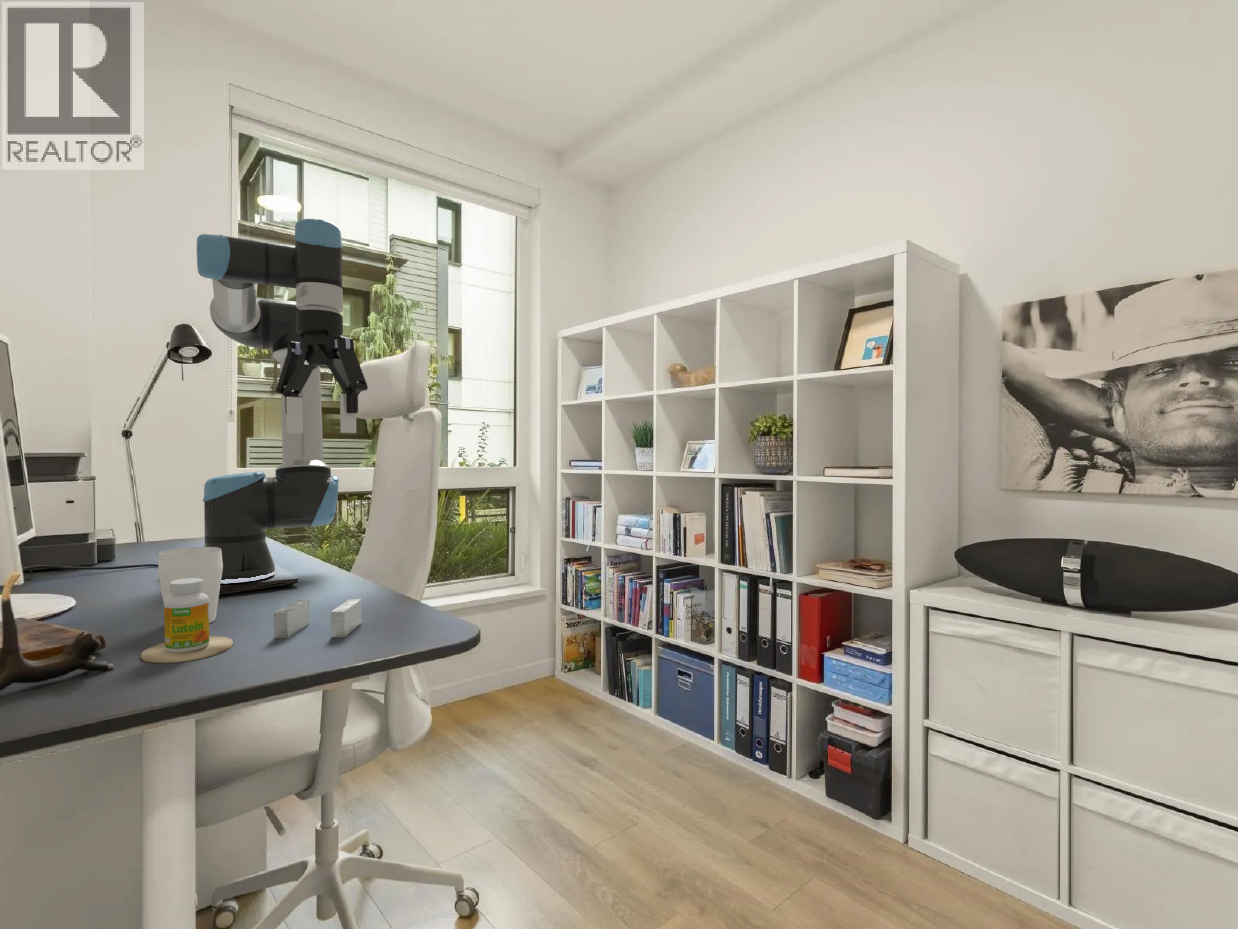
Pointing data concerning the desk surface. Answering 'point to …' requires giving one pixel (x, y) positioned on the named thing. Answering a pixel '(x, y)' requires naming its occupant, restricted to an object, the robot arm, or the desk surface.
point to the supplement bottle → (186, 616)
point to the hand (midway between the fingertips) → (321, 433)
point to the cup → (193, 571)
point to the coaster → (162, 656)
